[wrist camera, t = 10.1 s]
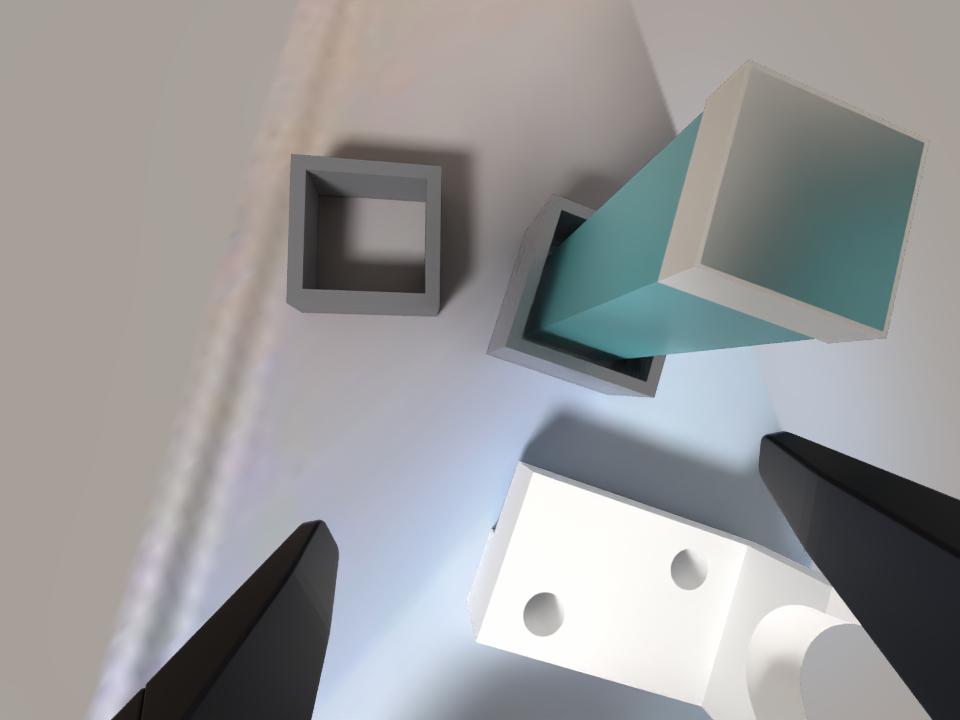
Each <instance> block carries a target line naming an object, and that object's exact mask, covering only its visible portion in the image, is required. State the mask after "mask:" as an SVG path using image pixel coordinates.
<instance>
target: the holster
mask: <svg viewBox="0 0 960 720" xmlns="http://www.w3.org/2000/svg"><path fill="white" fill-rule="evenodd" d="M319 195H331V196H346V197H360V198H375V199H390V200H404V201H419V202H426V219H425V284H424V293H398V292H372V291H346V290H320V289H316V277H317V241H318V205H319ZM440 231H441V166H433V165H421V164H408V163H396V162H384V161H371V160H359V159H347V158H334V157H322V156H310V155H297V154H291V172H290V204H289V236H288V269H287V301H286V303H287V304H289V305H291V306H292V307H294V308H296V309H297V310H299V311H301V312H305V313H338V314H371V315H403V316H436V317H437V314H438V311H439V305H440Z"/></svg>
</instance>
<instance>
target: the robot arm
mask: <svg viewBox="0 0 960 720" xmlns="http://www.w3.org/2000/svg"><path fill="white" fill-rule="evenodd" d="M759 472H760V475H761V478H762V480H763V481H764V483H765V485H766V486H767V488H768V490H769V491H770V493H771V495H772V496H773V498H774V500H775V501H776V503H777V505H778V506H779V508H780V510H781V511H782V513H783V515H784V516H785V518H786V520H787V521H788V523H789V525H790V526H791V528H792V529H793V531H794V533H795V534H796V536H797V538H798V539H799V541H800V542H801V544H802V546H803V547H804V549H805V550H806V552H807V553H808V554H809V556H810V557H811V559H812V560H813V561H814V563H815V564H816V565H817V567H818V568H819V569H820V571H821V572H822V573H823V575H824V576H825V577H826V579H827V580H828V581H829V583H830V584H831V585H832V587H833V588H834V589H835V591H836V592H837V593H838V595H839V596H840V597H841V599H842V600H843V601H844V603H845V604H846V605H847V607H848V608H849V609H850V611H851V612H852V613H853V615H854V616H855V617H856V619H857V620H858V621H859V623H860V624H861V625H862V627H863V628H864V629H865V631H866V632H867V633H868V635H869V636H870V637H871V639H872V640H873V641H874V643H875V644H876V645H877V647H878V648H879V649H880V651H881V652H882V653H883V655H884V656H885V657H886V659H887V660H888V661H889V663H890V664H891V665H892V667H893V668H894V669H895V671H896V672H897V673H898V675H899V676H900V677H901V679H902V680H903V681H904V683H905V684H906V685H907V687H908V688H909V689H910V691H911V692H912V693H913V695H914V696H915V697H916V699H917V700H918V701H919V703H920V704H921V705H922V707H923V708H924V709H925V711H926V712H927V713H928V715H929V716H930V717H931V719H932V720H960V500H958V499H956V498H953V497H951V496H948V495H946V494H943V493H941V492H938V491H936V490H933V489H931V488H928V487H926V486H923V485H921V484H918V483H916V482H913V481H911V480H908V479H906V478H903V477H900V476H898V475H896V474H893V473H890V472H888V471H885V470H883V469H880V468H878V467H875V466H873V465H870V464H868V463H865V462H863V461H860V460H858V459H855V458H852V457H850V456H847V455H845V454H842V453H840V452H837V451H835V450H832V449H830V448H827V447H825V446H822V445H820V444H817V443H815V442H812V441H809V440H807V439H805V438H802V437H800V436H797V435H795V434H792V433H789V432H785V431H783V432H777V433H771V434H766V435H764V436H763V437H762V439H761V445H760V456H759ZM338 560H339V551H338V547H337V544H336V542H335V540H334V538H333V536H332V534H331V533H330V531H329V529H328V527H327V525H326V523H325V522H324V521H322V520H315V521H310V522H305V523H303V524H301V525H300V526H299V527H298V528H297V529H296V530H295V531H294V532H293V533H292V534H291V535H290V536H289V537H288V538H287V539H286V540H285V541H284V542H283V543H282V544H281V546H280V547H279V548H278V549H277V550H276V551H275V552H274V553H273V554H272V555H271V556H270V557H269V558H268V559H267V560H266V561H265V562H264V563H263V564H262V565H261V566H260V567H259V568H258V569H257V570H256V571H255V572H254V573H253V574H252V575H251V576H250V577H249V579H248V580H247V581H246V582H245V583H244V584H243V585H242V586H241V587H240V588H239V589H238V590H237V591H236V592H235V593H234V594H233V595H232V596H231V597H230V598H229V599H228V600H227V601H226V602H225V603H224V604H223V605H222V606H221V607H220V608H219V609H218V611H217V612H216V613H215V614H214V615H213V616H212V617H211V618H210V619H209V620H208V621H207V622H206V623H205V624H204V625H203V626H202V627H201V628H200V629H199V630H198V631H197V632H196V633H195V634H194V635H193V636H192V637H191V638H190V639H189V640H188V641H187V642H186V643H185V645H184V646H183V647H182V648H181V649H180V650H179V651H178V652H177V653H176V654H175V655H174V656H173V657H172V658H171V659H170V660H169V661H168V662H167V663H166V664H165V665H164V666H163V667H162V668H161V669H160V670H159V671H158V672H157V673H156V674H155V675H154V676H153V677H152V679H151V680H150V681H149V682H148V683H147V684H146V687H145V688H142V689H141V690H140V691H139V692H138V693H137V694H136V695H135V696H134V697H133V698H132V699H131V700H130V701H129V702H128V703H127V704H126V705H125V706H124V707H123V708H122V709H121V710H120V711H119V712H118V713H117V714H116V715H115V716H114V717H113V718H112V719H111V720H311V718H312V714H313V709H314V705H315V700H316V695H317V691H318V686H319V682H320V677H321V672H322V668H323V663H324V658H325V654H326V649H327V645H328V639H329V634H330V628H331V621H332V613H333V604H334V595H335V586H336V577H337V569H338Z"/></svg>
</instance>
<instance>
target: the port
mask: <svg viewBox="0 0 960 720" xmlns="http://www.w3.org/2000/svg"><path fill="white" fill-rule="evenodd" d="M595 212H596V210H594V209H591V208H588V207H586V206H583V205H581V204H578V203H576V202H573V201H571V200H568V199H566V198H563V197H561V196H558V195H556V194H553V195H552V197H551V198H550V200H549V201H548V202H547V204H546V205H545V206H544V208H543V209H542V210H541V212H540V213H539V214H538V216H537V217H536V218H535V220H534V221H533V222H532V224H531V225H530V226H529V228H528V229H527V230H526V232H525V235H524V238H523V241H522V245H521V248H520V251H519V254H518V257H517V260H516V263H515V266H514V269H513V272H512V276H511V279H510V282H509V285H508V288H507V291H506V294H505V297H504V300H503V304H502V307H501V310H500V313H499V316H498V319H497V322H496V325H495V328H494V332H493V335H492V338H491V341H490V344H489V347H488V350H487V353H486V354H488V355H491V356H494V357H497V358H500V359H503V360H506V361H509V362H512V363H515V364H518V365H521V366H524V367H527V368H530V369H533V370H536V371H539V372H542V373H545V374H548V375H551V376H554V377H556V378H559V379H562V380H565V381H568V382H571V383H574V384H577V385H580V386H583V387H586V388H589V389H592V390H595V391H598V392H601V393H604V394H608V395H623V396H637V397H652V398H654V397H655V393H656V390H657V386H658V383H659V379H660V375H661V372H662V368H663V365H664V361H665V358H666V355H658V356H648V357H639V358H629V359H620V360H610V361H601V362H600V361H597V360H594V359H591V358H588V357H585V356H582V355H579V354H576V353H573V352H570V351H567V350H564V349H561V348H558V347H555V346H552V345H549V344H545V343H542V342H539V341H536V340H533V339H530V338H527V337H524V333H525V330H526V326H527V323H528V319H529V316H530V313H531V309H532V306H533V303H534V299H535V296H536V292H537V289H538V286H539V282H540V279H541V276H542V272H543V269H544V265H545V262H546V259H547V257H548V256H549V255H550V254H551V253H552V252H553V251H554V250H555V249H557V248H558V247H559V246H560V245H561V244H562V243H563V242H564V241H565V240H566V239H567V238H568V237H569V236H570V235H572V234H573V233H574V232H575V231H576V230H577V229H578V228H579V227H580V226H581V225H582V224H583V223H584V222H585V221H587V220H588V219H589V218H590V217H591V216H592V215H593V214H594V213H595Z"/></svg>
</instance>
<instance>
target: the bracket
mask: <svg viewBox="0 0 960 720" xmlns="http://www.w3.org/2000/svg"><path fill="white" fill-rule="evenodd" d="M467 605H468V610H469V614H470V618H471V622H472V627H473V631H474V635H475V639H476V642H478V643H481V644H485V645H488V646H492V647H495V648H499V649H502V650H506V651H509V652H513V653H516V654H519V655H523V656H526V657H530V658H533V659H537V660H540V661H544V662H547V663H551V664H554V665H558V666H561V667H565V668H568V669H572V670H575V671H579V672H582V673H586V674H589V675H593V676H596V677H600V678H603V679H607V680H610V681H614V682H617V683H621V684H624V685H628V686H631V687H635V688H638V689H642V690H645V691H649V692H652V693H656V694H659V695H663V696H666V697H670V698H673V699H677V700H680V701H684V702H687V703H691V704H694V705H698V706H701V707H702V708H703V709H704V710H705V711H706V712H707V713H708V715H709V716H710V717H711V718H712V719H713V720H808V719H807V716H806V713H805V710H804V706H803V700H802V694H801V669H802V663H803V660H804V656H805V654H806V651H807V649H808V647H809V645H810V644H811V643H812V641H813V640H814V639H815V637H817V635H819V634H820V633H821V632H822V631H824V630H826V629H827V628H829V627H832V626H835V625H839V624H858V625H861V624H860V623H859V621H858V620H857V619H856V617H855V616H854V615H853V613H852V612H851V611H850V609H849V608H848V607H847V605H846V604H845V603H844V601H843V600H842V599H841V597H840V596H839V595H838V593H837V592H836V591H835V589H834V588H833V587H832V585H831V584H830V583H829V581H828V580H827V579H826V577H825V576H824V575H822V574H820V573H818V572H816V571H814V570H812V569H810V568H808V567H805V566H803V565H801V564H799V563H797V562H795V561H793V560H791V559H789V558H787V557H784V556H782V555H780V554H778V553H776V552H774V551H772V550H770V549H768V548H765V547H763V546H761V545H759V544H757V543H755V542H753V541H750V540H747V539H744V538H741V537H738V536H735V535H733V534H730V533H727V532H724V531H721V530H718V529H715V528H712V527H709V526H706V525H704V524H701V523H698V522H695V521H692V520H689V519H686V518H683V517H680V516H677V515H675V514H672V513H669V512H666V511H663V510H660V509H657V508H654V507H651V506H648V505H646V504H643V503H640V502H637V501H634V500H631V499H628V498H625V497H622V496H619V495H616V494H614V493H611V492H608V491H605V490H602V489H599V488H596V487H593V486H590V485H587V484H585V483H582V482H579V481H576V480H573V479H570V478H567V477H564V476H561V475H558V474H556V473H553V472H550V471H547V470H544V469H541V468H538V467H535V466H532V465H529V464H527V463H524V462H521V461H519V462H518V465H517V467H516V470H515V473H514V476H513V479H512V482H511V485H510V488H509V491H508V494H507V497H506V500H505V503H504V506H503V509H502V511H501V514H500V517H499V520H498V523H497V526H496V529H495V530H494V529H491V532H490V535H489V538H488V540H487V543H486V546H485V549H484V552H483V555H482V558H481V561H480V564H479V567H478V570H477V573H476V576H475V579H474V581H473V584H472V587H471V590H470V593H469V596H468V599H467ZM861 626H862V625H861Z"/></svg>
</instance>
